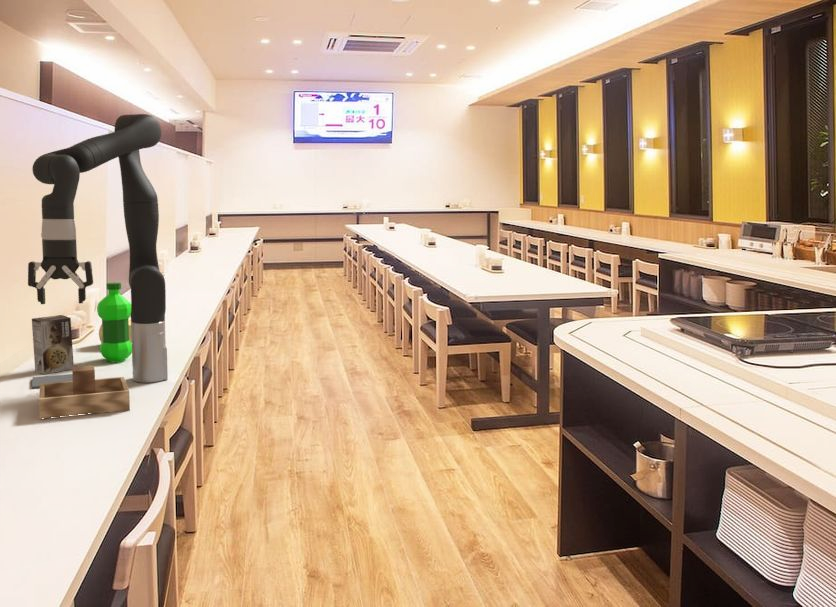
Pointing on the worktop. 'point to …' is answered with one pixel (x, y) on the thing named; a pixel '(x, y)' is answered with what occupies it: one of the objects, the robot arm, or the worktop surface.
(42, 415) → the caddy
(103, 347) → the plastic bottle
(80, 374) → the walnut block
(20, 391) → the worktop surface
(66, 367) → the coffee box
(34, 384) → the slate mat
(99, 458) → the worktop surface
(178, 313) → the worktop surface
